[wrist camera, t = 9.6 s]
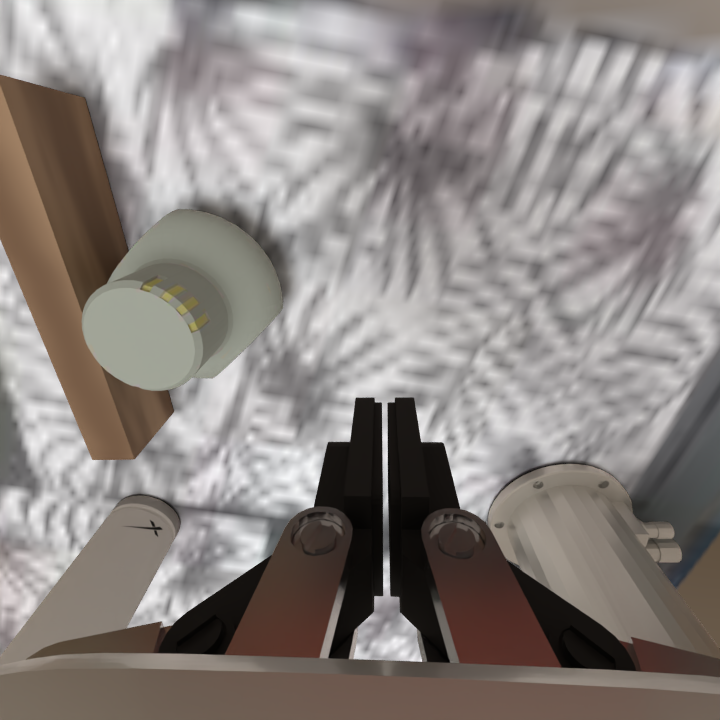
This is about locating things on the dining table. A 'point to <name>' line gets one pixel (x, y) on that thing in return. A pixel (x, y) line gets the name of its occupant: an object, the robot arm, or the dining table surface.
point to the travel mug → (102, 578)
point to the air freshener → (182, 302)
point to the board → (68, 256)
